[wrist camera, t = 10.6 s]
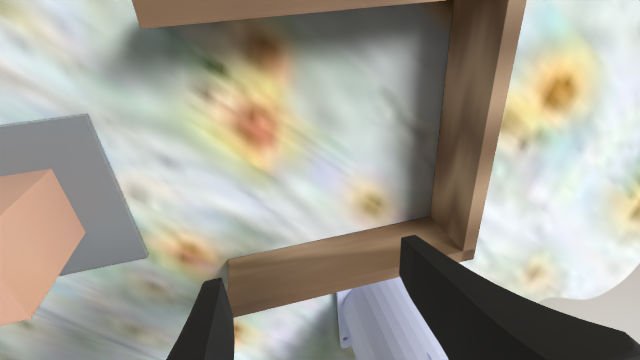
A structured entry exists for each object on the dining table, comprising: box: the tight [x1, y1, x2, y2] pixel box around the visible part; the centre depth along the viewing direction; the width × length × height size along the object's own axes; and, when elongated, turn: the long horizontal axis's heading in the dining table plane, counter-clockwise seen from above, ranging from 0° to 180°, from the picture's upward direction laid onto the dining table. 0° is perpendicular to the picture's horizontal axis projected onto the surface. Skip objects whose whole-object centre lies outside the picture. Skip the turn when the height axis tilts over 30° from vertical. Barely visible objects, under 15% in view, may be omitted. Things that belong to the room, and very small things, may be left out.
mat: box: [0, 114, 149, 276], centre depth 19 cm, size 10×10×1 cm
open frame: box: [132, 0, 526, 318], centre depth 20 cm, size 18×18×4 cm
